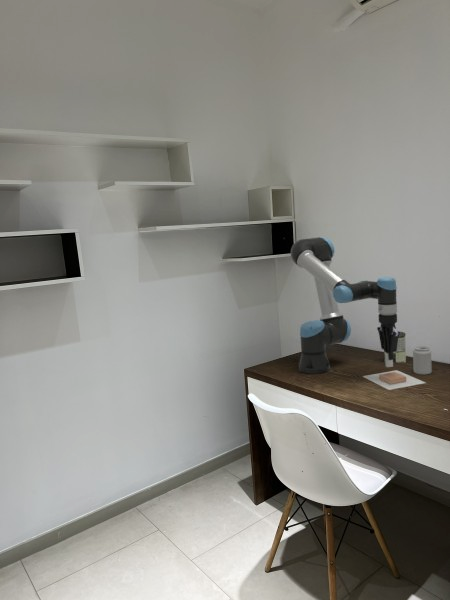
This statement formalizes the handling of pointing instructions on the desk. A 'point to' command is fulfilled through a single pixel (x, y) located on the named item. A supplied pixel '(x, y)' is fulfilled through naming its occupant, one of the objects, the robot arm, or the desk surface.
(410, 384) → the mat
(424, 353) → the can
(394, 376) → the tile
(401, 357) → the coffee can
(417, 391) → the desk surface
